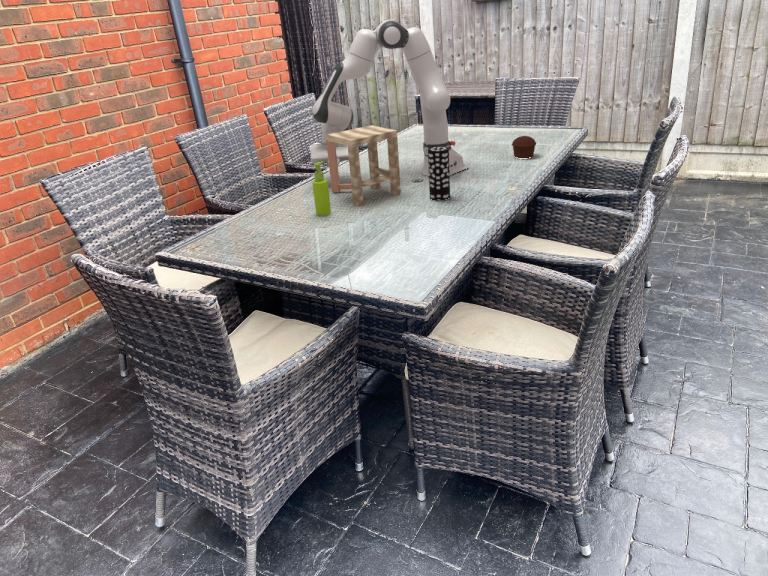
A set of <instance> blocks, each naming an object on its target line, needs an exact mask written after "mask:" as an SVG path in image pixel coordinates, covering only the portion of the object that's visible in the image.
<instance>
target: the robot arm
mask: <svg viewBox="0 0 768 576" xmlns="http://www.w3.org/2000/svg"><path fill="white" fill-rule="evenodd" d="M381 48H383V49H384V48H385V49H387V50H388V49H389V50H395V49H401V50H402V52H403V55H404V57H405V60H406V62H407V64H408V68H409V70H410V72H411V75H412V77H413V79H414V82H415V84H416V86H417V88H418V90H419V100H420V111H421V117H422V123H423V124H422V125H423V143H422V144H423V145H422V147H423V155H424V156H423V166H422V170H421V174H422V175H424V176H426V177H427V176H428V177H429V166H428V149H429V148H431V147H437V146H444V147H448V148H449V167H450V175H451V176H453V175H452V174H454V173H456V174H458V173H457V172H459V171H461V172H463V171H462V170H464V169H466V168H468V169H469V165H467V164H464V158H463V156H462V155H461V154H460V153H458V151H456V150H455V149H453V148H452V146H453V147H454V146H456V141H455V140H454V141H453V140H449V123H448V118H447V111H446V110H448V108H449V107H450V105H451V95H450V92H449V90H448V89H447V85H446V83H445V82H444V79H443V77H442V75H441V72H440V70H439V68H438V66H437V63H436V60H435V57H434V55H433V52H432V49H431V47H430V45H429V42H428V40H427V38H426V36H425V34H424V33H423V30H422V29H421V28H419V27H417V26H413V27H409V28H405V27H404V26H403V25H402V24H400V23H399V22H397V20H393V19H386V20H382V21H381V22H380V23H378V24H377V26H375V27H374V28H373V29H368V28H361V29H360V30H358V31H357V33H356V34H355V36H354V39H353V41H351V45H350V47H349V50H348V52H347V53H348V54H347V55H346V57H345V58H344V59H343V61H342V62H339V63H337V64H336V65H335V66H334V68H333V70H332V71H331V73H330V75H329V77H328V79H327V81H326V83H325V84H324V87H323V88H322V91H321V92H320V94H319V96H318V98H316V100H315V101H314V104H313V105H312V108H311V115H312V117H313V119H314V120H315V122H317V123H320V130H321V132H322V133H321V142H317V143H315V142H314V143H311V144H310V145H309V147H308V148H309V152H310V162H311V163H312V164H315V163H317V162H324V163H328V165H329V161H328V152H327V144H326V139H327V138H328V137H327V135H328V134H332V133H337V132H342V131H346V130H347V129H348V128H350V127H351V125H352V124H353V122H354V112H353V109H352V107H350V106H347V105H345V104H341V103H338V102H334V101H332V98H333V96H334V95H335V92H336V91H337V89H338V87H339V85H340V84H342V82H344V81H349V80H356V79H362V78H363V77H365V76H367V75H368V74H369V73H370V70H371V68H372V66H373V63H374V60H375V57H376V55H377V53H378V51H379V50H380V49H381ZM335 145H336V155H337V164H338V166H339V165H340V164H341V162H344V161H346V162H347V161H349V155H348V146H346V145H342V144H338V143H335ZM466 170H467V169H466ZM464 171H465V170H464ZM459 173H460V172H459ZM454 175H455V174H454Z"/></svg>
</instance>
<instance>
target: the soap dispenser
mask: <svg viewBox="0 0 768 576" xmlns="http://www.w3.org/2000/svg"><path fill="white" fill-rule="evenodd" d="M322 164H325V162H317V163H313V167H315V171H314V180H312V183H311V184H312V191H313V198H314V199H313V200H314V206H315V208H314V209H315V214H316V216H319V215H321V216H322V217H323V215H325V216H329V215H331V214H332V209H331V208H332V207H331V201H330V200H331V199H330V191H329V182H328V180H327V179H326V178H325V176H324V171H322V170H321V169H322V168H321V166H322ZM330 213H331V214H330ZM328 214H329V215H328ZM321 216H320V217H321Z"/></svg>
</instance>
